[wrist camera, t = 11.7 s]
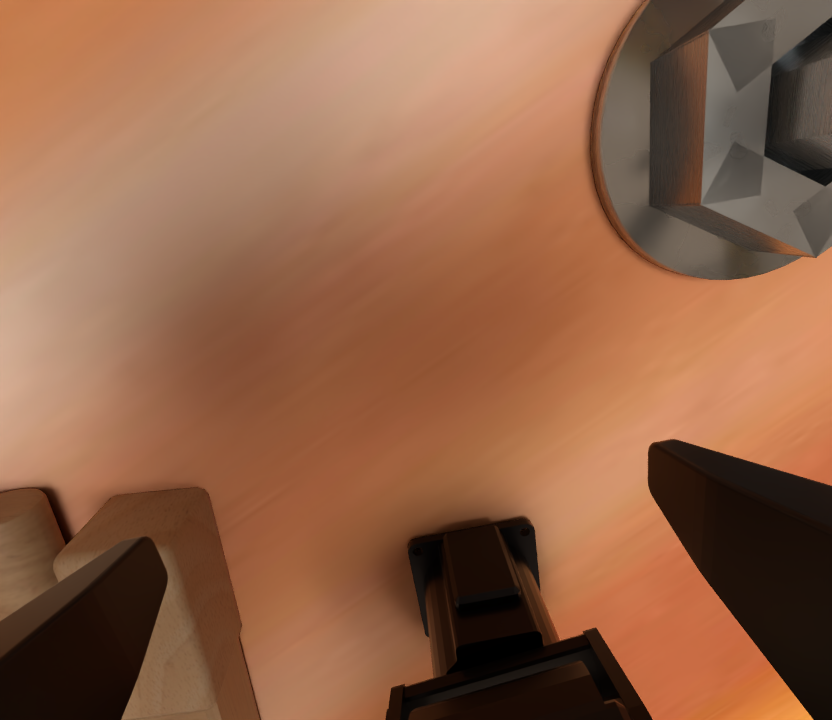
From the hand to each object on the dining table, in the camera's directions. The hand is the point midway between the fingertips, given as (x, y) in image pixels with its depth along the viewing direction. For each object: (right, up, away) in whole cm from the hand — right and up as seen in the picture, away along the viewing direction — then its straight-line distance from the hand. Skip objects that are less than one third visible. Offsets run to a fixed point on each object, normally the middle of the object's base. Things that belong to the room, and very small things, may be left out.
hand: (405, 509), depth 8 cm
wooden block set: (-18, -12, +16) cm, 27 cm away
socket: (+13, +12, +10) cm, 20 cm away
